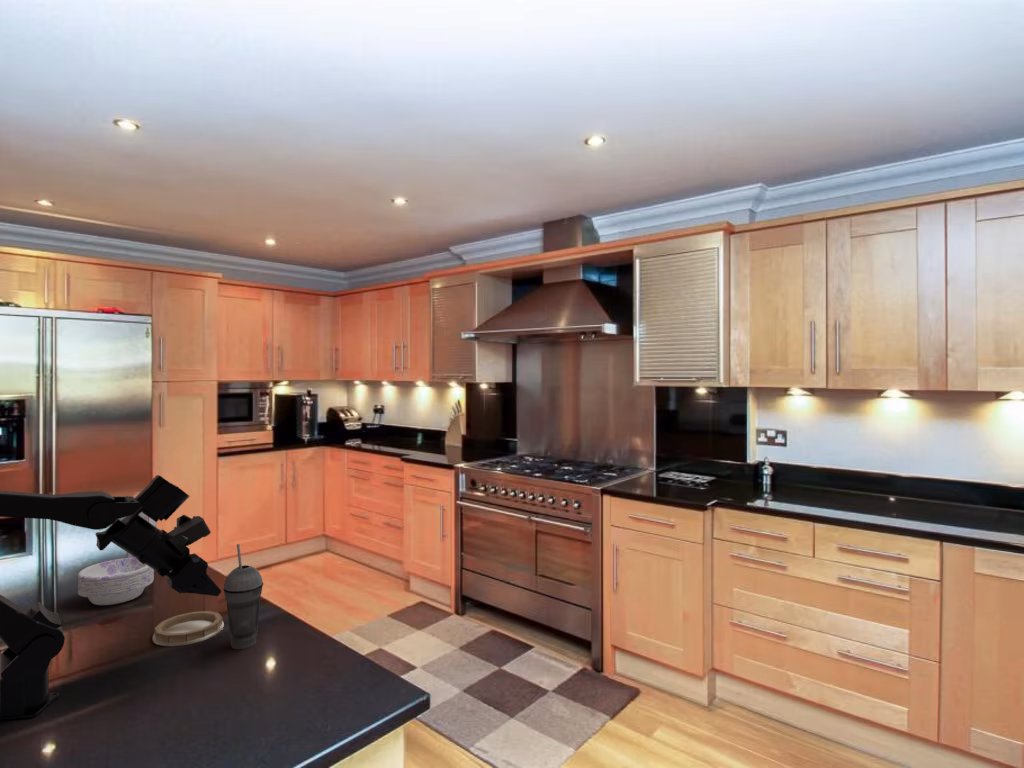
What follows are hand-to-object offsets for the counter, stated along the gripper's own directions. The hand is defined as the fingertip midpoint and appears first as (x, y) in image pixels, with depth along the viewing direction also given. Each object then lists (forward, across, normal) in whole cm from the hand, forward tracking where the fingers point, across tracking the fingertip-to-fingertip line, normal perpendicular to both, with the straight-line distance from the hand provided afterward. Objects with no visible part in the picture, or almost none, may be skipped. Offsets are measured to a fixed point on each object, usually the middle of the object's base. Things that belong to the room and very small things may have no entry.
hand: (212, 587), depth 110 cm
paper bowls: (+3, +48, +15) cm, 50 cm away
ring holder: (+8, +14, +10) cm, 19 cm away
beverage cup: (+13, 0, +5) cm, 14 cm away
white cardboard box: (+9, +71, +9) cm, 72 cm away
